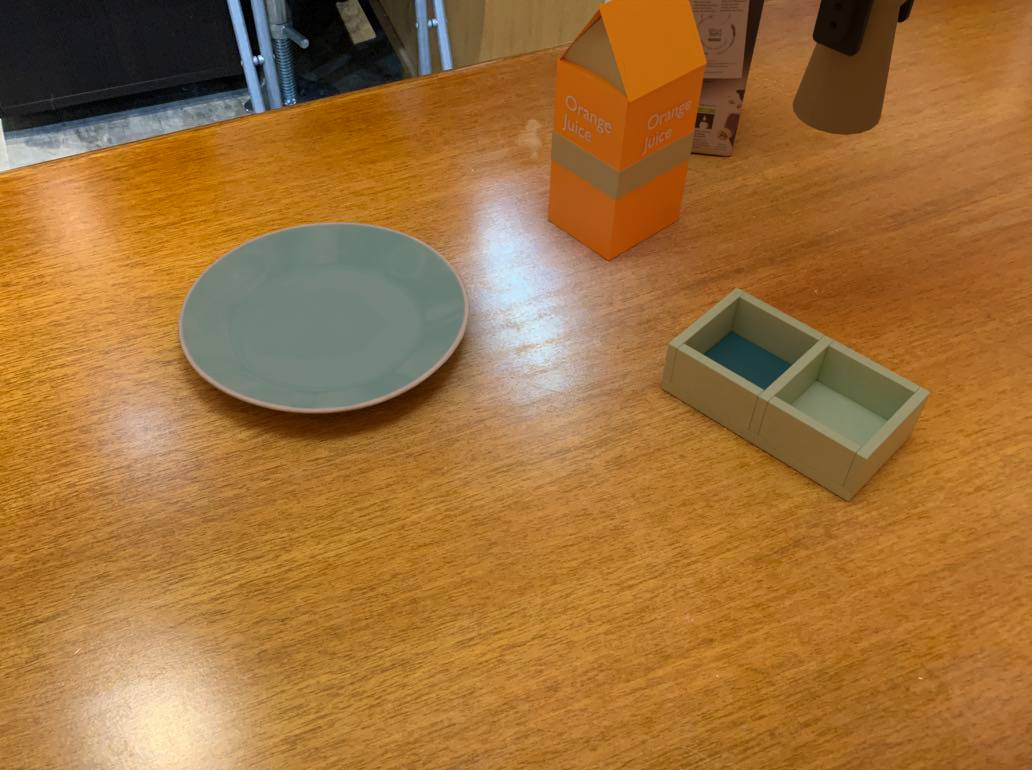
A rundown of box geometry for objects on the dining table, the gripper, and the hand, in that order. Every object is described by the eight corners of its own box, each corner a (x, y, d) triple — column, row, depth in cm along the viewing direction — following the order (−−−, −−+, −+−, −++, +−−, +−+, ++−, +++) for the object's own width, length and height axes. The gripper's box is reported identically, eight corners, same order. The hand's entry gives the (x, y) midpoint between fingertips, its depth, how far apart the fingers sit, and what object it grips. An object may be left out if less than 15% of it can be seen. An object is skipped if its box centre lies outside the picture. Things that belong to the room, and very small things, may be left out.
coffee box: (733, 158, 100) (770, -20, 88) (664, 151, 101) (690, -26, 88) (735, 104, 106) (771, -70, 93) (669, 98, 106) (695, -76, 94)
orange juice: (545, 219, 94) (559, -14, 79) (616, 180, 98) (643, -50, 82) (609, 262, 91) (637, 28, 75) (680, 220, 95) (722, -12, 79)
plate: (149, 293, 88) (140, 265, 86) (399, 218, 94) (397, 190, 92) (240, 478, 76) (233, 451, 74) (519, 378, 82) (520, 350, 80)
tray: (910, 436, 79) (931, 392, 76) (848, 502, 75) (866, 459, 72) (726, 332, 86) (736, 286, 82) (659, 387, 82) (668, 343, 78)
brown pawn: (851, 80, 78) (898, -84, 69) (898, 125, 74) (953, -42, 65) (776, 95, 76) (814, -70, 67) (820, 141, 73) (867, -26, 64)
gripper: (938, -256, 51) (837, 104, 65) (1099, -332, 58) (976, 5, 73) (803, -293, 54) (735, 58, 68) (973, -361, 62) (879, -32, 76)
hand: (860, 27), depth 70 cm, fingers closed on brown pawn, 5 cm apart
